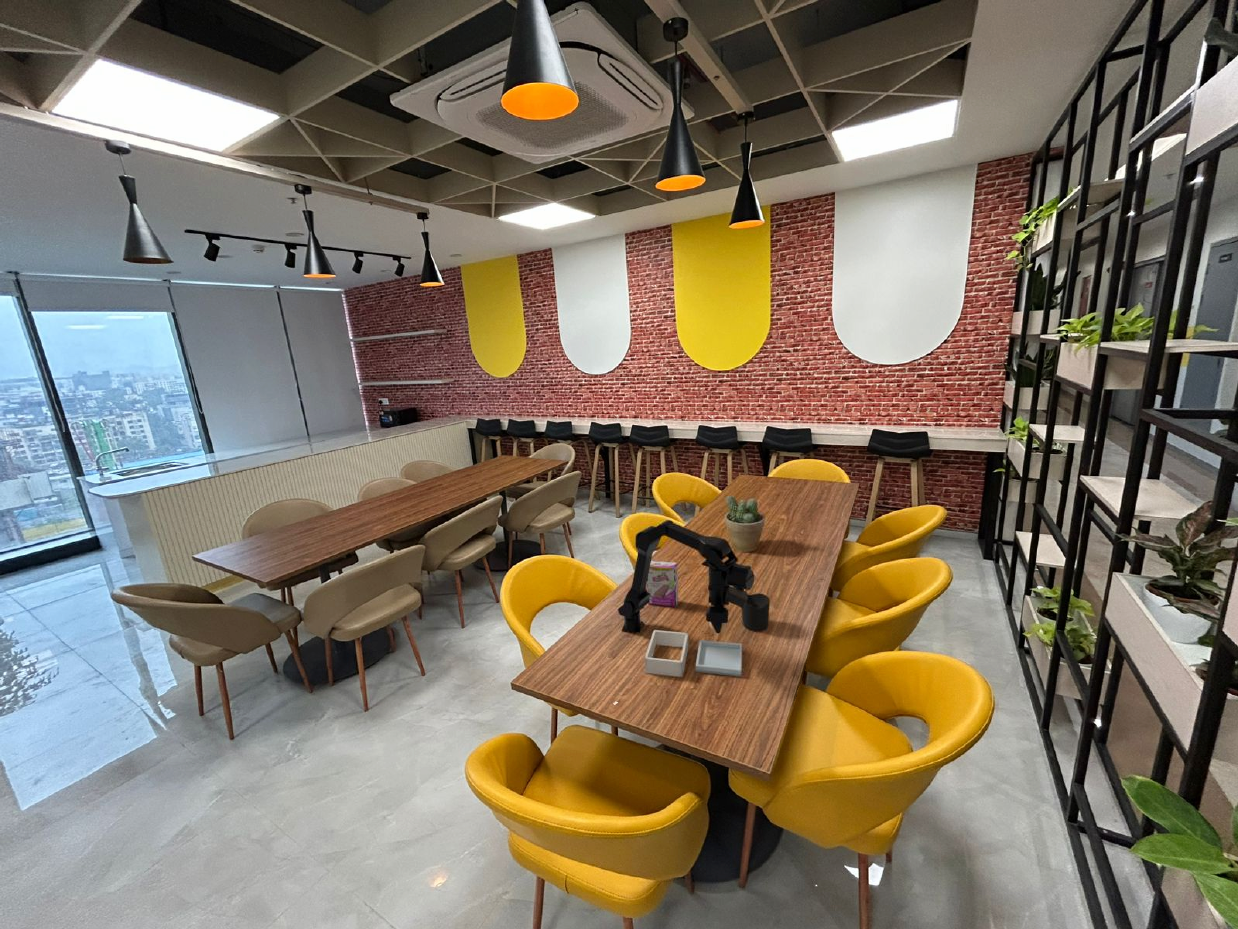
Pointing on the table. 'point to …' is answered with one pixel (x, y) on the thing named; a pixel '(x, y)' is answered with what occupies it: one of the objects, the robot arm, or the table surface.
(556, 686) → the table surface
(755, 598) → the pen holder
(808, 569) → the table surface
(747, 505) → the potted plant
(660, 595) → the candy bar box
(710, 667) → the tray
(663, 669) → the grey rectangular frame
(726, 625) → the ball
